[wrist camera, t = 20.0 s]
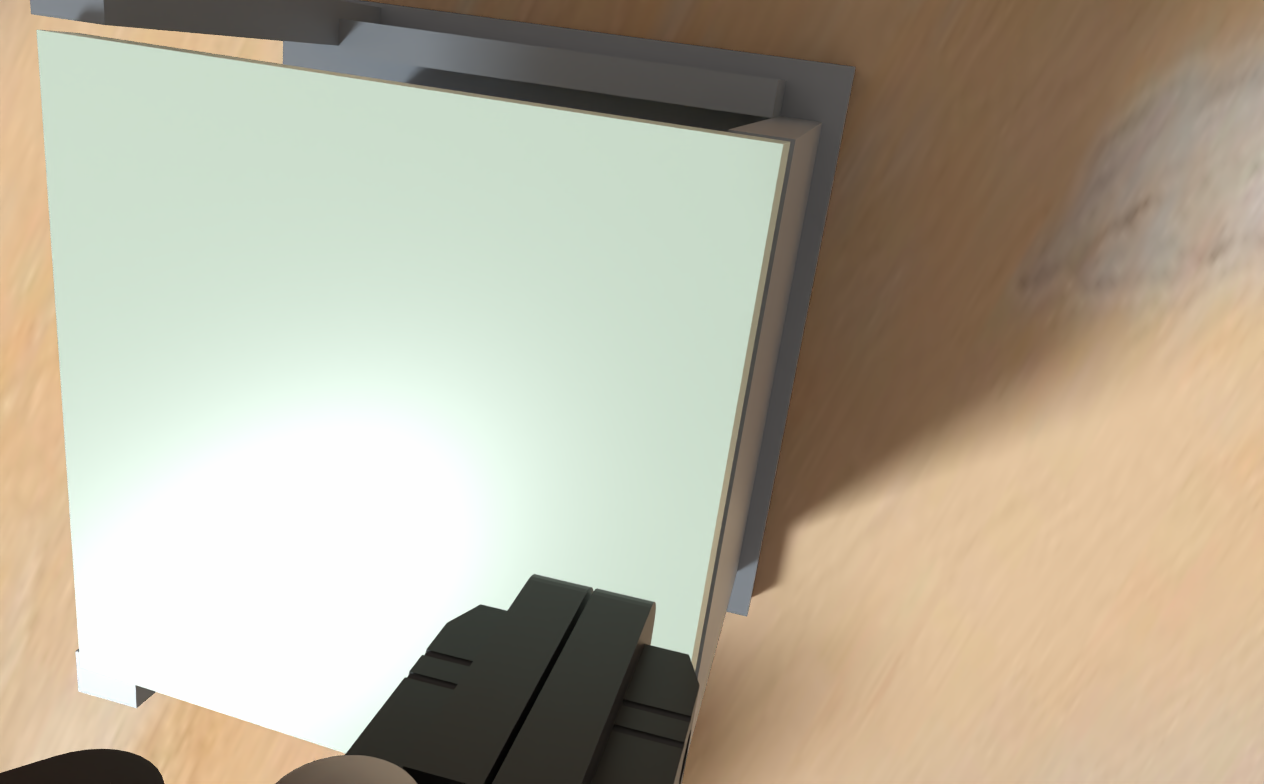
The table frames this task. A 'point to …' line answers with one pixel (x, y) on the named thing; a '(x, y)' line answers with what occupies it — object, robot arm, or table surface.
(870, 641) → the table surface
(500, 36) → the housing
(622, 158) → the lid
